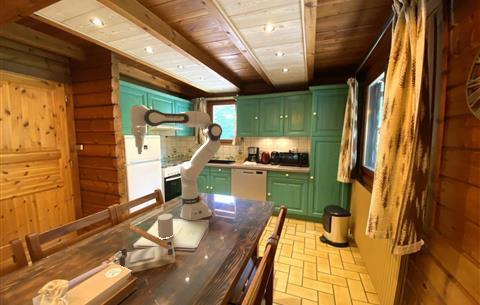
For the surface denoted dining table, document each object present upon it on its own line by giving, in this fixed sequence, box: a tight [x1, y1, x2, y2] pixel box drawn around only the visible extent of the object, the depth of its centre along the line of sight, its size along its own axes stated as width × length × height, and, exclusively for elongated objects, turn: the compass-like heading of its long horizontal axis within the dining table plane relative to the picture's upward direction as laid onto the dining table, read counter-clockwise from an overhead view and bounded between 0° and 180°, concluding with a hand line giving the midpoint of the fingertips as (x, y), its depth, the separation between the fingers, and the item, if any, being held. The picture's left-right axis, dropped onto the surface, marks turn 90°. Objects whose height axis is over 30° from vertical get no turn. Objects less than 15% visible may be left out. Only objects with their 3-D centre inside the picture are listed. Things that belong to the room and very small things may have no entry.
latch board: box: [117, 239, 176, 274], centre depth 93 cm, size 24×12×7 cm, turn 113°
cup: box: [157, 213, 174, 238], centre depth 115 cm, size 8×8×12 cm
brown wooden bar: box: [129, 224, 172, 249], centre depth 93 cm, size 22×4×2 cm
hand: (140, 153), depth 125 cm, fingers open, 8 cm apart
